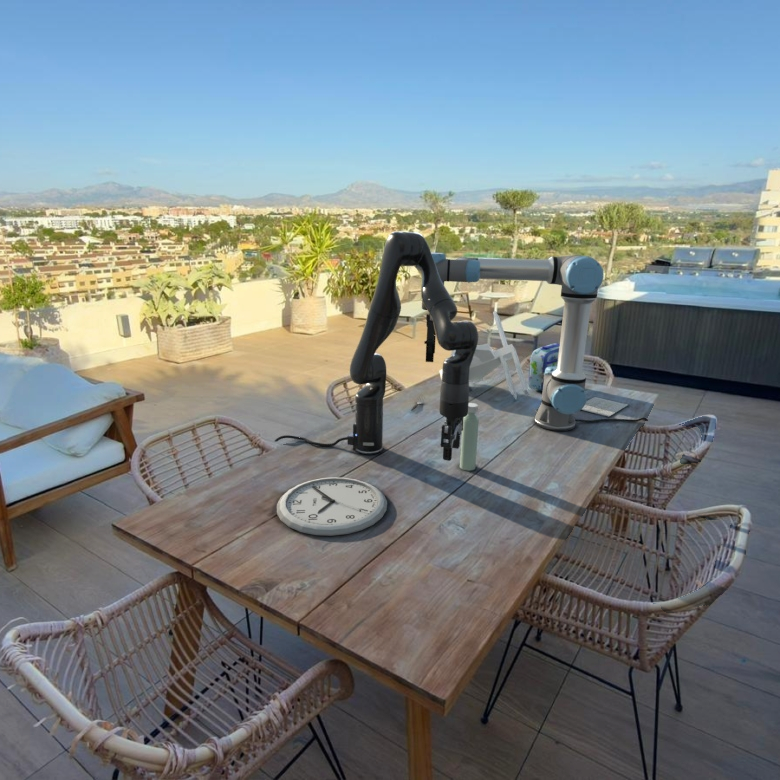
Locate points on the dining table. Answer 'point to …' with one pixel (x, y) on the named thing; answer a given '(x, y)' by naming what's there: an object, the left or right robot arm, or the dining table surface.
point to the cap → (472, 407)
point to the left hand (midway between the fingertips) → (451, 453)
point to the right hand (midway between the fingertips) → (430, 357)
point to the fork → (418, 403)
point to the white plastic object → (495, 361)
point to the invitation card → (603, 406)
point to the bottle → (469, 442)
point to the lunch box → (542, 364)
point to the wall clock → (331, 506)
